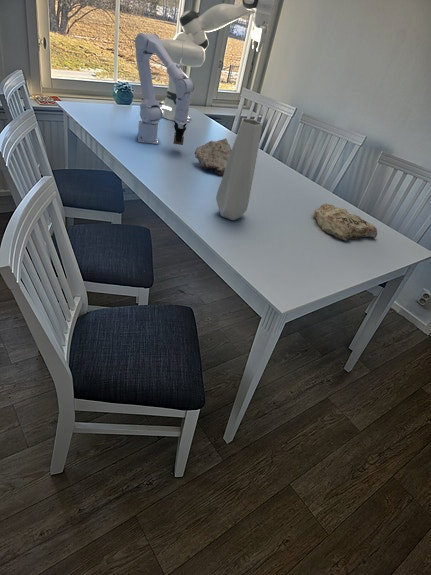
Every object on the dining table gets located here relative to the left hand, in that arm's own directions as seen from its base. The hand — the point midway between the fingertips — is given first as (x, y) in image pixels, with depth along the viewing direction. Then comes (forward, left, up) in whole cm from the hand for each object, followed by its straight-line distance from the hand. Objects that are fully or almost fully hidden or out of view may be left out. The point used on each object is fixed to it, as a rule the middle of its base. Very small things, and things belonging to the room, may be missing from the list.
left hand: (178, 139), depth 175 cm
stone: (+56, -61, -6) cm, 83 cm away
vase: (+13, -59, -6) cm, 60 cm away
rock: (+15, -16, -6) cm, 23 cm away
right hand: (+48, +61, +35) cm, 85 cm away
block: (0, 0, -1) cm, 1 cm away
